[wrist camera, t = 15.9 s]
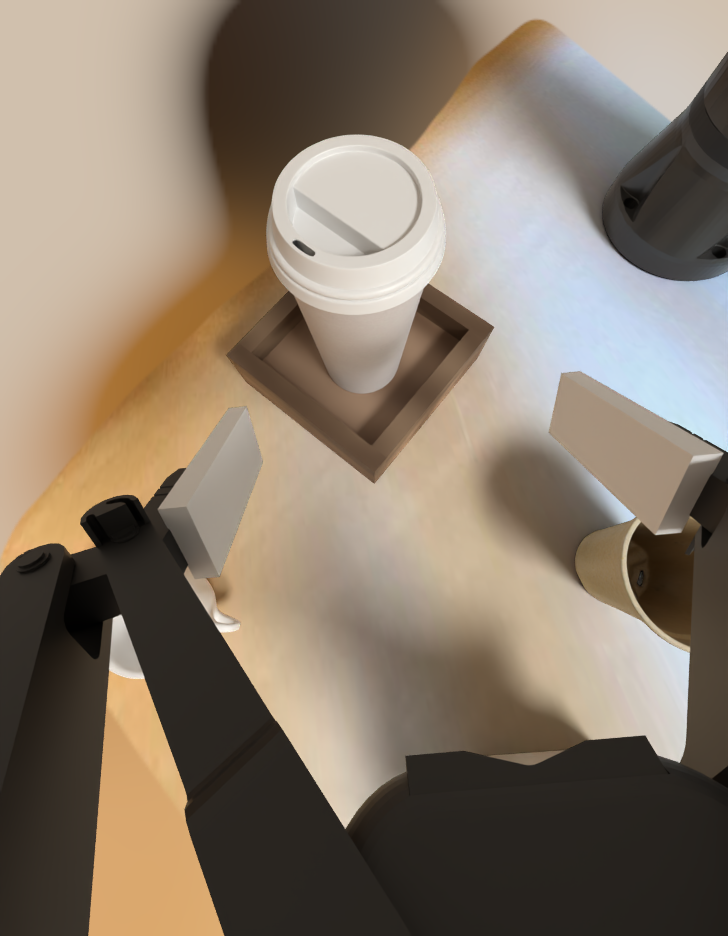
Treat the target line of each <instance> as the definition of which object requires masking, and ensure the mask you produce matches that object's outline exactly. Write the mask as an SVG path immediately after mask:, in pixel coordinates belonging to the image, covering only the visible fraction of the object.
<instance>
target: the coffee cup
mask: <svg viewBox="0 0 728 936" xmlns="http://www.w3.org/2000/svg"><path fill="white" fill-rule="evenodd" d="M266 238H267V252H268V256H269V260H270V263H271V266H272V268H273V270H274V272H275V274H276V276H277V277H278V279H279V280H280V282H281V283H282V284H283V285H284V286H285V287H286V288H287V289H288V290H289V291H290V292H291V293H292V294H293V295H294V296H295V299H296V301H297V303H298V305H299V307H300V310H301V312H302V314H303V316H304V319H305V321H306V323H307V325H308V328H309V330H310V332H311V334H312V337H313V339H314V341H315V344H316V346H317V348H318V350H319V353H320V355H321V357H322V359H323V362H324V364H325V366H326V369H327V371H328V373H329V375H330V377H331V378H332V380H333V381H334V382H335V383H336V384H337V385H338V386H339V387H341V388H343V389H344V390H347V391H349V392H353V393H359V394H365V393H371V392H375V391H377V390H380V389H381V388H383V387H385V386H386V385H387V384H388V383H389V382H390V381H391V380H392V379H393V377H394V376H395V374H396V372H397V369H398V366H399V363H400V360H401V357H402V353H403V350H404V347H405V344H406V341H407V338H408V335H409V332H410V329H411V325H412V322H413V319H414V316H415V313H416V310H417V307H418V304H419V301H420V298H421V295H422V292H423V289H424V287H425V286H426V285H427V284H428V283H429V282H430V280H431V279H432V278H433V276H434V275H435V273H436V272H437V270H438V268H439V266H440V264H441V261H442V259H443V255H444V252H445V246H446V227H445V218H444V213H443V209H442V205H441V202H440V199H439V197H438V195H437V193H436V188H435V184H434V181H433V178H432V176H431V174H430V172H429V171H428V169H427V168H426V166H425V165H424V164H423V162H422V161H421V160H420V159H419V158H418V157H417V156H416V155H415V154H413V153H412V152H411V151H409V150H408V149H406V148H405V147H403V146H401V145H399V144H397V143H395V142H393V141H390V140H387V139H384V138H380V137H376V136H369V135H345V136H339V137H334V138H330V139H326V140H323V141H321V142H318V143H316V144H314V145H312V146H310V147H308V148H306V149H305V150H303V151H302V152H300V153H299V154H298V155H297V156H295V157H294V158H293V159H292V160H291V161H290V162H289V163H288V164H287V166H286V167H285V168H284V169H283V171H282V173H281V174H280V176H279V178H278V180H277V182H276V184H275V187H274V191H273V196H272V204H271V207H270V210H269V214H268V221H267V228H266Z"/></svg>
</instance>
